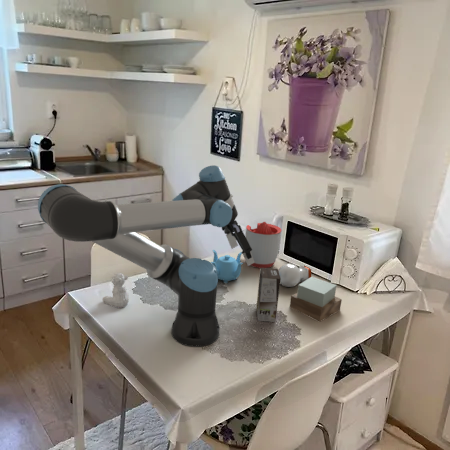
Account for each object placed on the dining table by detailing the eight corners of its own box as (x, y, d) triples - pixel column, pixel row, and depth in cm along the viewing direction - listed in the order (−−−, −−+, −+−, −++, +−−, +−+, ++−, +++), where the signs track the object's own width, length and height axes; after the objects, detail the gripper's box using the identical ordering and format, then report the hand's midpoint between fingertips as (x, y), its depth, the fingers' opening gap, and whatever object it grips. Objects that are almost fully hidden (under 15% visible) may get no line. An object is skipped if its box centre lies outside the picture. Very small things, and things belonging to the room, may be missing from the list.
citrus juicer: (258, 253, 205) (262, 213, 199) (284, 266, 192) (289, 224, 186) (233, 259, 196) (236, 218, 190) (259, 273, 183) (263, 229, 177)
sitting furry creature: (127, 295, 157) (126, 265, 153) (137, 305, 150) (137, 274, 146) (101, 301, 151) (101, 270, 147) (111, 312, 145) (110, 280, 141)
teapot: (241, 273, 182) (243, 251, 179) (241, 287, 169) (243, 263, 166) (211, 271, 182) (212, 249, 179) (209, 284, 170) (210, 261, 167)
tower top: (322, 307, 148) (324, 294, 147) (296, 297, 154) (298, 284, 152) (334, 297, 156) (336, 285, 154) (309, 288, 161) (311, 276, 160)
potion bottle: (275, 290, 172) (301, 286, 181) (291, 285, 164) (317, 281, 173) (269, 268, 174) (295, 265, 183) (285, 261, 167) (311, 259, 176)
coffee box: (276, 322, 145) (281, 279, 140) (257, 321, 145) (261, 277, 140) (273, 309, 154) (278, 267, 149) (256, 307, 154) (260, 266, 149)
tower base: (319, 322, 148) (321, 310, 146) (289, 308, 156) (291, 295, 155) (339, 311, 156) (341, 299, 155) (310, 298, 165) (312, 286, 164)
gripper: (250, 217, 136) (267, 266, 147) (219, 191, 156) (236, 235, 167) (229, 228, 134) (249, 277, 145) (201, 200, 155) (220, 245, 166)
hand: (242, 255), depth 156 cm, fingers open, 13 cm apart
